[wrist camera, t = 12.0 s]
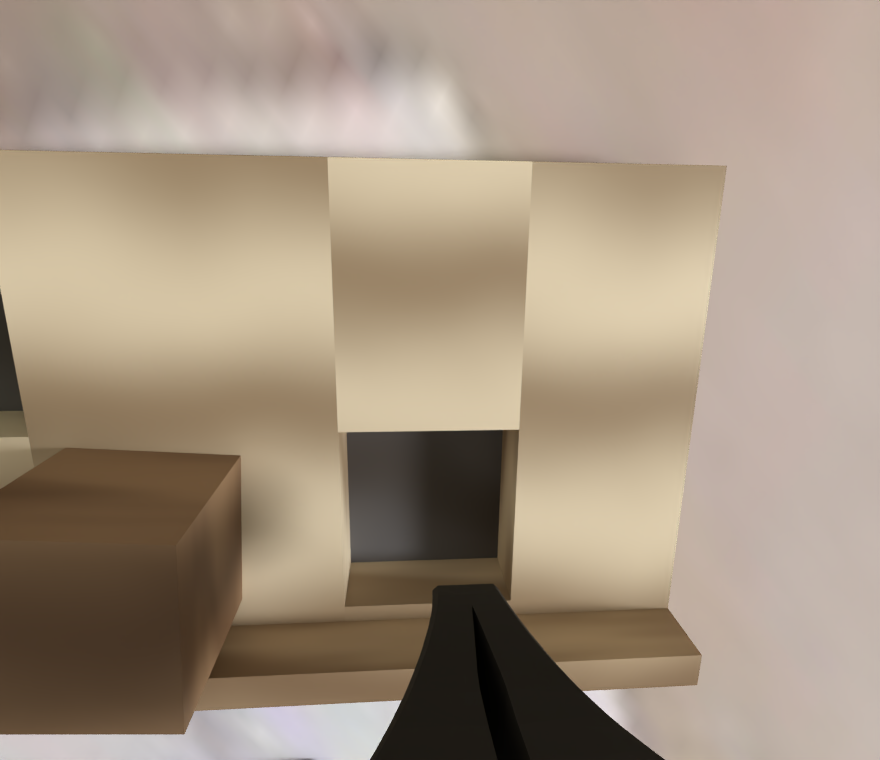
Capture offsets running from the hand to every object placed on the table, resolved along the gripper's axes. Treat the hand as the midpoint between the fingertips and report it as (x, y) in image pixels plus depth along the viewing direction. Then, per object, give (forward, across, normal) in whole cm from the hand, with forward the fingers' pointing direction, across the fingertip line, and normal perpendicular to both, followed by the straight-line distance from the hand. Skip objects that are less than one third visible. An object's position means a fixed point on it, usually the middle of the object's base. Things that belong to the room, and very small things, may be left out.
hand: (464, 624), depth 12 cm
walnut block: (+4, +8, 0) cm, 9 cm away
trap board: (+7, +8, -3) cm, 11 cm away
